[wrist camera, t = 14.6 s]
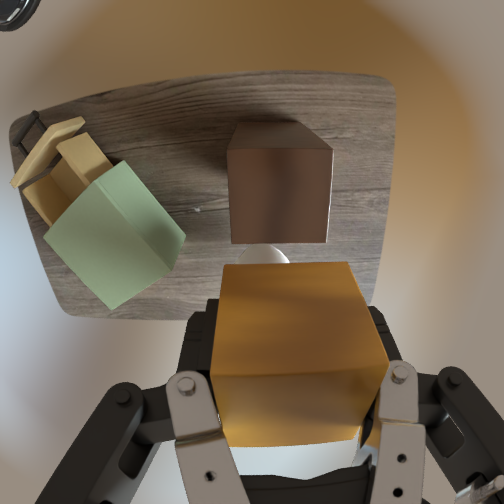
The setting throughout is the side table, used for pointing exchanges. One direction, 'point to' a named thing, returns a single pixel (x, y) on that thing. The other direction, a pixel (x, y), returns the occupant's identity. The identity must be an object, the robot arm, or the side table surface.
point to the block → (293, 354)
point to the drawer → (58, 165)
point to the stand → (278, 184)
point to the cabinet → (116, 236)
